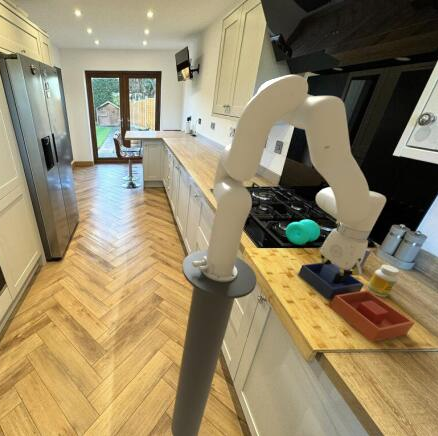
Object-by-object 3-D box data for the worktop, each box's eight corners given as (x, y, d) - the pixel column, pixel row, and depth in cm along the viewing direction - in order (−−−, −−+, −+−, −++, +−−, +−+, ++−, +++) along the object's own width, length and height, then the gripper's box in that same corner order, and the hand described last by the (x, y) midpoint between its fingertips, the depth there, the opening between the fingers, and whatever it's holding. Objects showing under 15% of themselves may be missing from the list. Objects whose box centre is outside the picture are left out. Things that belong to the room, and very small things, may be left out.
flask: (362, 271, 88) (375, 247, 83) (353, 270, 89) (365, 246, 84) (350, 257, 96) (361, 235, 91) (342, 256, 97) (352, 233, 92)
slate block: (330, 283, 77) (335, 273, 75) (319, 275, 81) (323, 264, 79) (341, 281, 78) (346, 271, 76) (329, 273, 82) (334, 263, 80)
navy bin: (328, 299, 74) (333, 289, 72) (298, 274, 85) (302, 264, 83) (358, 294, 77) (364, 284, 75) (325, 271, 87) (329, 261, 85)
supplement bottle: (371, 283, 82) (384, 261, 77) (390, 294, 77) (405, 271, 73) (362, 288, 80) (375, 265, 75) (382, 299, 75) (397, 275, 71)
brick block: (369, 325, 65) (376, 314, 63) (353, 313, 69) (359, 302, 67) (381, 323, 66) (388, 312, 64) (365, 311, 70) (371, 300, 68)
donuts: (281, 238, 108) (288, 218, 104) (295, 234, 112) (302, 215, 108) (302, 249, 100) (310, 229, 96) (316, 244, 104) (325, 224, 100)
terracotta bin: (371, 342, 61) (379, 330, 59) (329, 306, 72) (335, 295, 70) (406, 334, 64) (415, 322, 62) (360, 300, 74) (367, 289, 72)
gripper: (318, 219, 78) (301, 264, 86) (372, 247, 63) (345, 297, 71) (336, 218, 80) (317, 262, 88) (393, 244, 65) (364, 294, 73)
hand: (330, 277), depth 79 cm, fingers closed on slate block, 4 cm apart
